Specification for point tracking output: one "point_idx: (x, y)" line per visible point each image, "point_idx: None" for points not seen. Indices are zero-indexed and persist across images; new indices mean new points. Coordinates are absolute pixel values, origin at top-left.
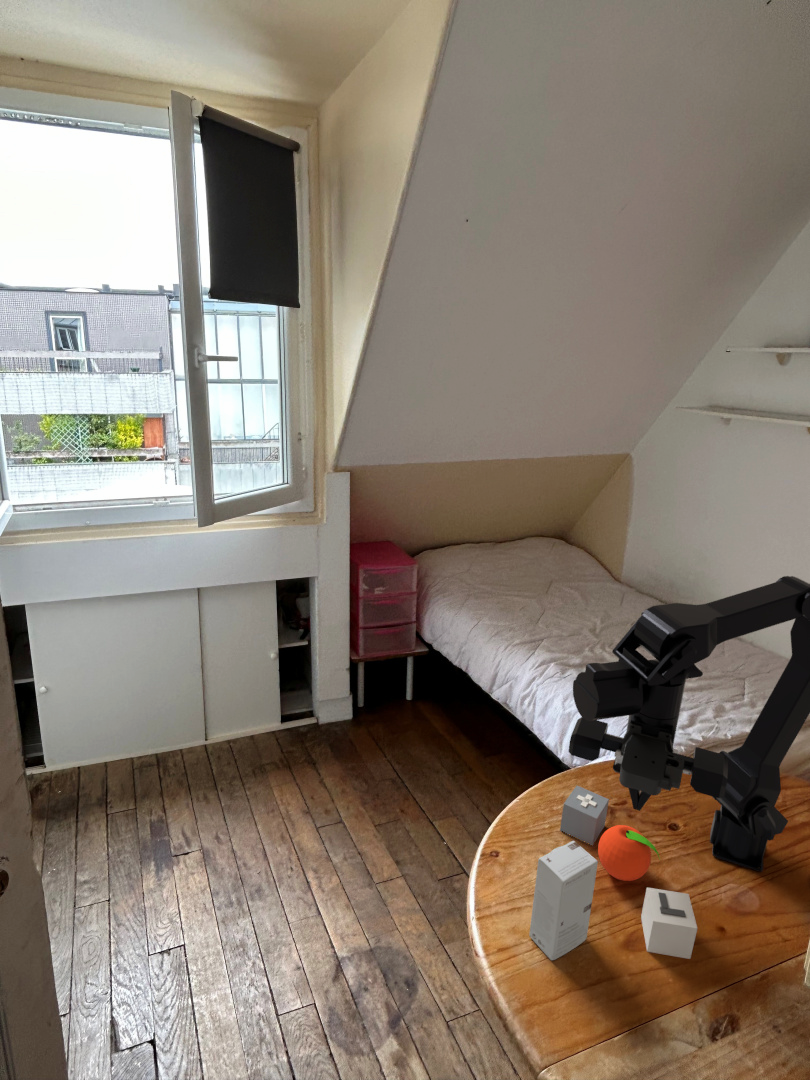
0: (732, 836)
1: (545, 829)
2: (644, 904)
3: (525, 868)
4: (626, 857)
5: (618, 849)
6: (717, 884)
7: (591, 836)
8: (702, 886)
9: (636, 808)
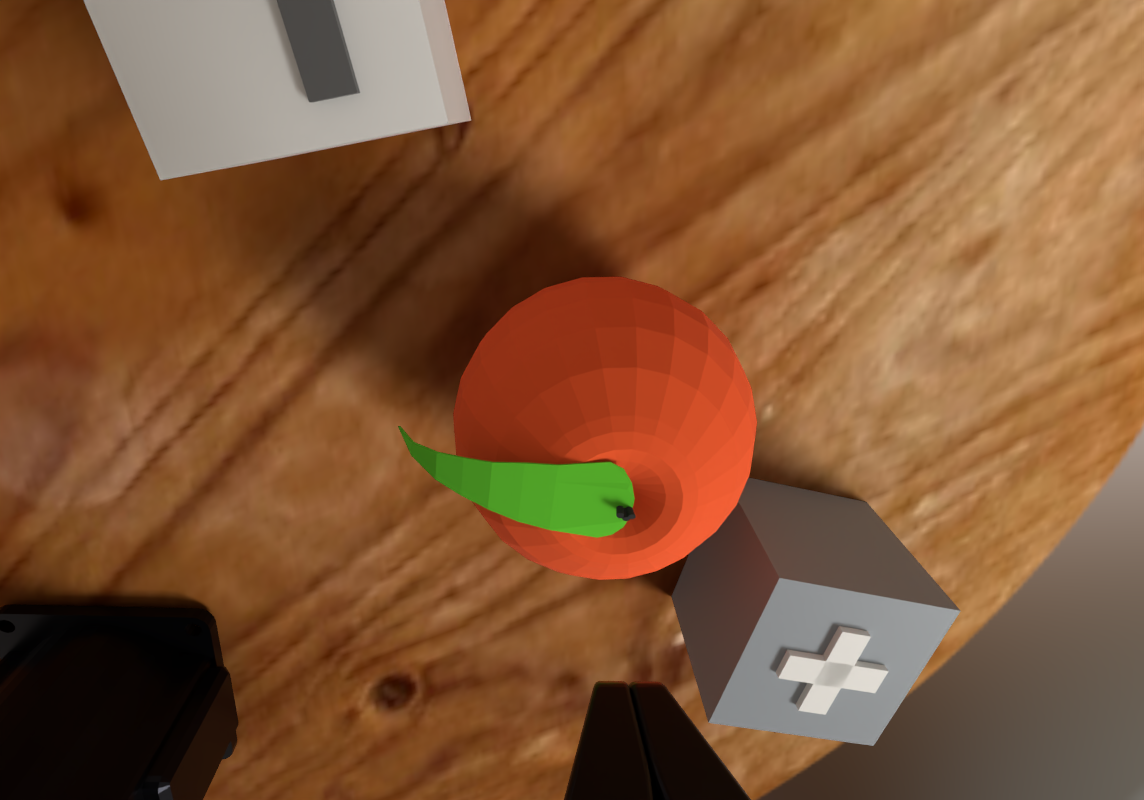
0: (76, 728)
1: (931, 484)
2: (456, 99)
3: (1054, 211)
4: (606, 333)
5: (667, 367)
6: (161, 472)
7: (748, 502)
8: (221, 435)
9: (637, 695)
